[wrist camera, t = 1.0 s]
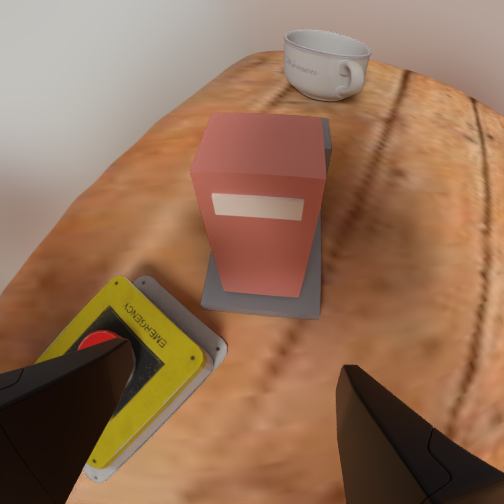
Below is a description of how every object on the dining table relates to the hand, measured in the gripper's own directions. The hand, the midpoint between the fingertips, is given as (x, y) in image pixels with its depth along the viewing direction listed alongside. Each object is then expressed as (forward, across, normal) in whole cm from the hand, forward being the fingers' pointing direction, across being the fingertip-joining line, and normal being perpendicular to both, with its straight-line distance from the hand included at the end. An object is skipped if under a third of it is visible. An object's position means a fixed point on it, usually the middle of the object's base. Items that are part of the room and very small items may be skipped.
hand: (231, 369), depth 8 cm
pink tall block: (+13, 0, +1) cm, 13 cm away
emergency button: (+8, +9, +9) cm, 15 cm away
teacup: (+33, -6, -16) cm, 37 cm away
